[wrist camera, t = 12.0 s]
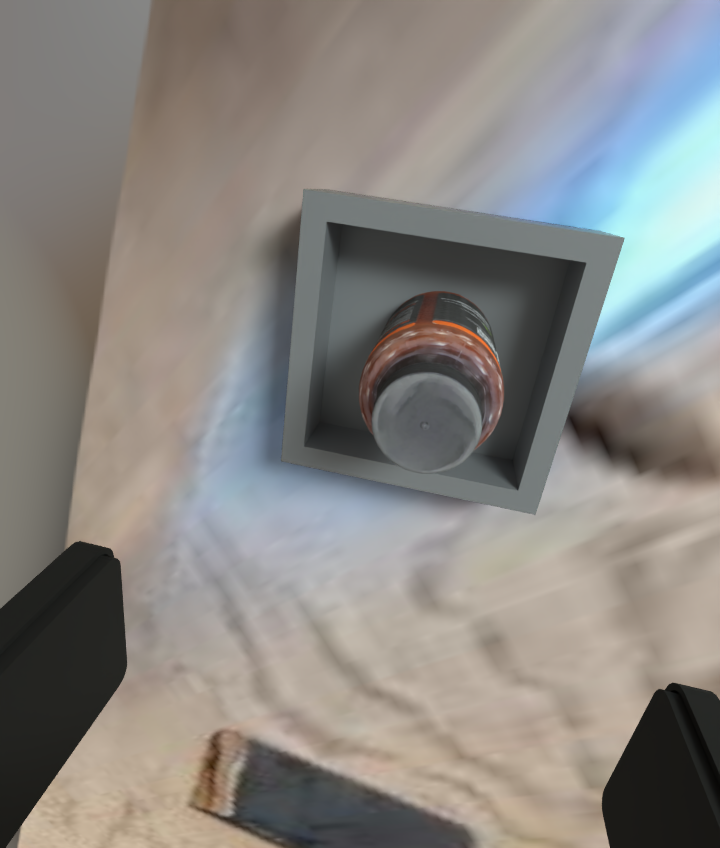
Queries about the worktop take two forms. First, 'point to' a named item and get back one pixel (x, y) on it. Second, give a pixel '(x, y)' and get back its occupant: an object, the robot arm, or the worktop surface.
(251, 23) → the worktop surface
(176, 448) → the worktop surface
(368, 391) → the supplement bottle
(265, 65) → the worktop surface
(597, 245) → the bin
